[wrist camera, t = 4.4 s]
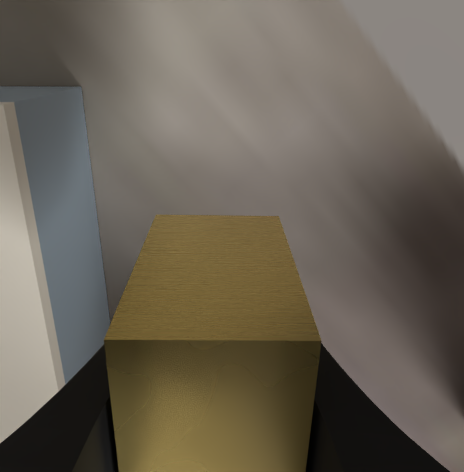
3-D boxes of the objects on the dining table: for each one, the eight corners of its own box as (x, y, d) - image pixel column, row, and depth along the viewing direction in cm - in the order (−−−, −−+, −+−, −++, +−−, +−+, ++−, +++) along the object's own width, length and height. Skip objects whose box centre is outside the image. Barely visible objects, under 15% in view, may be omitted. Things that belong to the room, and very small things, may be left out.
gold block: (268, 377, 13) (294, 565, 8) (164, 377, 12) (130, 568, 8) (278, 216, 11) (321, 340, 6) (156, 214, 11) (104, 339, 6)
